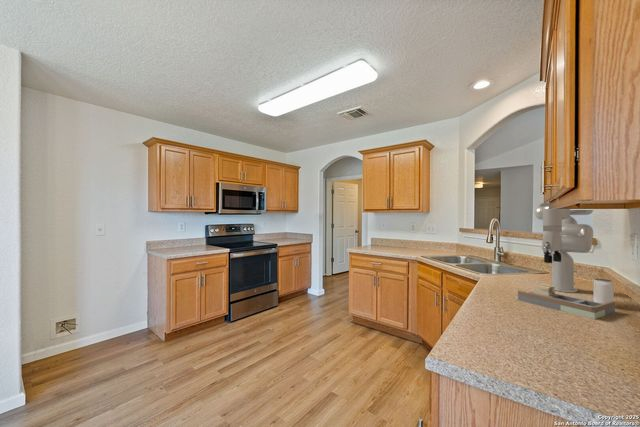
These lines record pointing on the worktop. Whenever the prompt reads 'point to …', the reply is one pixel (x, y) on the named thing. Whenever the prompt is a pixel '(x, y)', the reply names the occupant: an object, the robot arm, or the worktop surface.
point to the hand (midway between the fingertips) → (552, 262)
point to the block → (544, 289)
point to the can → (603, 291)
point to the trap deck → (569, 304)
